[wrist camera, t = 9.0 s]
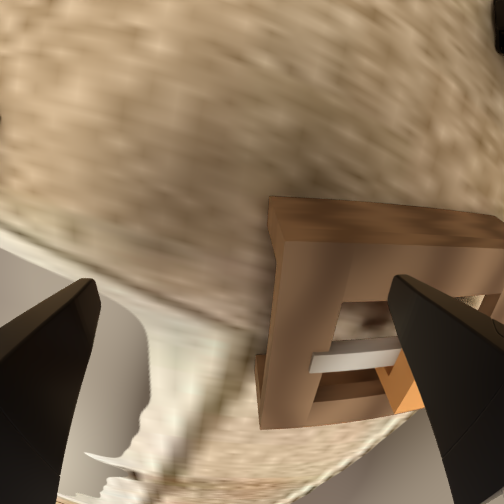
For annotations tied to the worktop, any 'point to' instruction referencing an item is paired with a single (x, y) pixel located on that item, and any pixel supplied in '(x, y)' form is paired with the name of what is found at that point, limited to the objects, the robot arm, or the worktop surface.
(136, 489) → the worktop surface
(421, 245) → the shelf
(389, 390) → the orange angular block
